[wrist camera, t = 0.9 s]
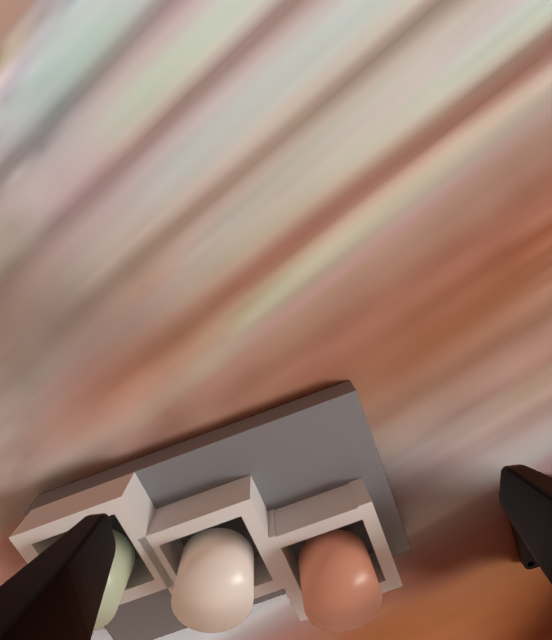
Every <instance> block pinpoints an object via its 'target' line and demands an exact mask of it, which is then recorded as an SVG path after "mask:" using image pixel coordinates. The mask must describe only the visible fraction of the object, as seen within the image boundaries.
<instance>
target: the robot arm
mask: <svg viewBox="0 0 552 640" xmlns="http://www.w3.org/2000/svg"><path fill="white" fill-rule="evenodd" d="M499 499H500V503H501V505H502V507H503V509H504V511H505V512H506V514H507V515H508V517H509V519H510V521H511V525H512V529H513V533H514V537H515V541H516V546H517V550H518V554H519V558H520V562H521V563H522V565H523V566H524V567H525V568H526V569H533V568H536V567H539V566H540V568H541V569H542V571H543V572H544V574H545V575H546V577H547V578H548V580H549V581H550V583H551V584H552V477H550V476H548V475H545V474H543V473H541V472H538V471H536V470H534V469H532V468H529V467H527V466H524V465H510V466H505V467H503V468H502V470H501V478H500V490H499ZM115 551H116V542H115V537H114V534H113V530H112V526H111V522H110V518H109V516H108V515H107V514H105V513H100V514H92V515H88V516H86V517H84V518H83V519H82V520H81V521H79V522H78V523H77V524H76V525H74V526H73V527H72V528H71V529H70V530H68V531H67V532H66V533H65V534H63V535H62V536H61V537H60V538H59V539H57V540H56V541H55V542H54V543H53V544H51V545H50V546H49V547H48V548H46V549H45V550H44V551H43V552H42V553H40V554H39V555H38V556H37V557H35V558H34V559H33V560H32V561H31V562H29V563H28V564H27V565H26V566H24V567H23V568H22V569H21V570H20V571H18V572H17V573H16V574H15V575H13V576H12V577H11V578H10V579H9V580H7V581H6V582H5V583H4V584H3V585H1V586H0V640H90V639H91V636H92V633H93V630H94V626H95V623H96V619H97V616H98V612H99V609H100V605H101V602H102V598H103V595H104V591H105V588H106V584H107V581H108V577H109V574H110V570H111V567H112V563H113V559H114V556H115Z"/></svg>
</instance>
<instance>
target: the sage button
mask: <svg viewBox="0 0 552 640" xmlns="http://www.w3.org/2000/svg"><path fill="white" fill-rule="evenodd" d="M112 530H113V529H112ZM113 534H114V537H115V542H116V551H115V556H114V559H113V563H112V567H111V570H110V574H109V577H108V581H107V584H106V588H105V591H104V595H103V598H102V602H101V605H100V609H99V612H98V616H97V619H96V623H95V626H94V630H93V631H96V630H98V629H100V628H102V627H104V626H105V625H107V624H108V623H109V622H110V621H111V620H112V619H113V617H114V616H115V614H116V611H117V609H118V606H119V603H120V601H121V598H122V596H123V593H124V590H125V588H126V585H127V582H128V580H129V577H130V575H131V572H132V569H133V567H134V564H135V551H134V548H133V546H132V544H131V543H130V541H129V540H128V539H127V538H126V537H125V536H124V535H122V534H121V533H119V532H118V531H115V530H113Z"/></svg>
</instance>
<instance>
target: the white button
mask: <svg viewBox="0 0 552 640" xmlns="http://www.w3.org/2000/svg"><path fill="white" fill-rule="evenodd" d="M253 601H254V551H253V548H252V545H251V544H250V542H249V541H248V540H247V539H246V538H245V537H244V536H243V535H242V534H240V533H238V532H236V531H234V530H231V529H226V528H211V529H206V530H203V531H201V532H199V533H197V534H195V535H194V536H193V537H191V538H190V539H189V540H188V542H187V543H186V545H185V546H184V549H183V552H182V556H181V560H180V564H179V568H178V572H177V576H176V581H175V585H174V589H173V593H172V597H171V607H172V611H173V613H174V615H175V616H176V618H177V619H178V620H179V621H180V622H181V623H182V624H183V625H185V626H187V627H188V628H190V629H193V630H196V631H199V632H205V633H217V632H223V631H227V630H230V629H232V628H234V627H236V626H238V625H239V624H241V623H242V622H243V621H244V620H245V619H246V618H247V617H248V616H249V614H250V612H251V610H252V607H253Z"/></svg>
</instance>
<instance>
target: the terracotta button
mask: <svg viewBox="0 0 552 640" xmlns="http://www.w3.org/2000/svg"><path fill="white" fill-rule="evenodd" d="M298 564H299V572H300V581H301V589H302V597H303V605H304V611H305V614H306V616H307V618H308V619H309V620H310V622H312V623H313V624H314V625H315V626H317V627H319V628H321V629H323V630H326V631H331V632H346V631H351V630H354V629H357V628H360V627H362V626H364V625H365V624H367V623H368V622H370V621H371V620H372V619H373V618H374V617H375V616H376V614H377V613H378V611H379V610H380V607H381V605H382V598H383V597H382V591H381V588H380V585H379V582H378V579H377V576H376V574H375V571H374V568H373V565H372V562H371V559H370V556H369V554H368V551H367V548H366V545H365V543H364V542H363V541H362V539H361V538H360V537H358V536H357V535H355V534H354V533H351V532H349V531H345V530H336V529H335V530H331V531H328V532H326V533H323V534H320V535H317V536H314V537H311V538H310V539H309V540H308V541H307V542H306V543H305V544H304V545H303V547H302V548H301V550H300V553H299V557H298Z"/></svg>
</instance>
